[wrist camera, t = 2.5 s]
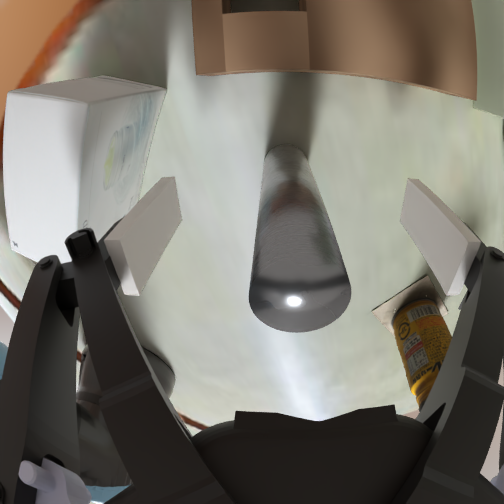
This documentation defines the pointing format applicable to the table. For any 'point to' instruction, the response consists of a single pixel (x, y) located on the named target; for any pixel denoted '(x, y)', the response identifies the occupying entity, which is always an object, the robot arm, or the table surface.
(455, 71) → the socket block
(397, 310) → the condiment
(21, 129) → the skincare box
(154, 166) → the table surface
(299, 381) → the table surface
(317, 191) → the peg
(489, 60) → the pale green angled bracket
